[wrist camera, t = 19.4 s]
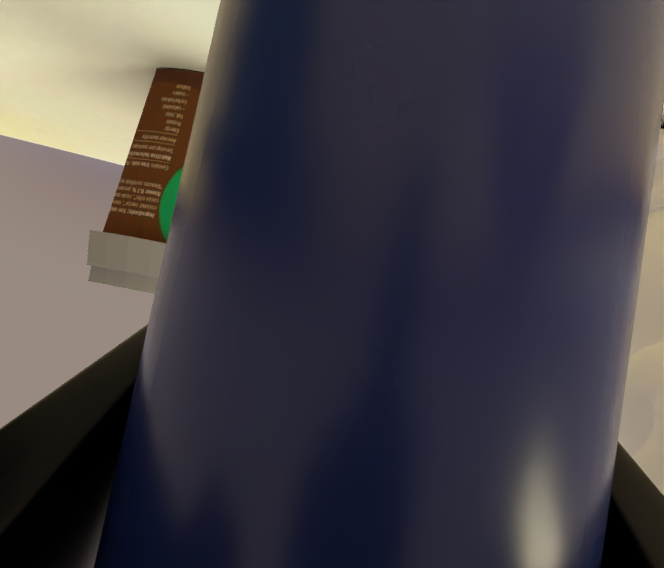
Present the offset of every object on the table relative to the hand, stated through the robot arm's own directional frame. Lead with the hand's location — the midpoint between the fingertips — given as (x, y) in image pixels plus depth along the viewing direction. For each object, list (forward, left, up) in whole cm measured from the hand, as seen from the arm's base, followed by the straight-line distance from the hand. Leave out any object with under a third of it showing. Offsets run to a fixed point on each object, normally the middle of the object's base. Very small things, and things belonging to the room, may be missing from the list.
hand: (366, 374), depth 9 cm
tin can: (-1, +1, -7) cm, 7 cm away
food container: (+12, -13, -11) cm, 21 cm away
